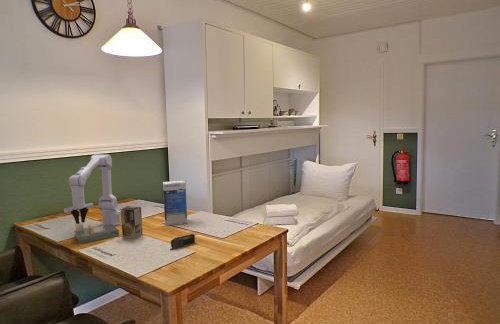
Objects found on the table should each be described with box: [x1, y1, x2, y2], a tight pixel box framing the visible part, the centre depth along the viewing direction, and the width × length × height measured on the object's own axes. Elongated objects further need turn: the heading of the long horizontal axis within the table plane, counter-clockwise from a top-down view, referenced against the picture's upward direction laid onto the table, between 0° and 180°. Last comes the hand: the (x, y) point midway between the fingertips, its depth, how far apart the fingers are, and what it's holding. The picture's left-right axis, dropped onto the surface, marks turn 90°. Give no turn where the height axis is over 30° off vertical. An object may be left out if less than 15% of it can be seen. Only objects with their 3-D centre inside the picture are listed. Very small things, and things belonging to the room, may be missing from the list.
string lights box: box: [162, 180, 188, 226], centre depth 211 cm, size 13×8×26 cm, turn 108°
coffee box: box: [120, 205, 143, 240], centre depth 188 cm, size 9×6×16 cm
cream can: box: [74, 218, 85, 232], centre depth 189 cm, size 4×4×7 cm
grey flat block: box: [73, 224, 120, 245], centre depth 190 cm, size 20×14×4 cm
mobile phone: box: [169, 233, 196, 251], centre depth 174 cm, size 5×3×15 cm
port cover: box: [87, 224, 106, 234], centre depth 188 cm, size 8×8×3 cm
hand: (80, 222), depth 182 cm, fingers open, 2 cm apart
